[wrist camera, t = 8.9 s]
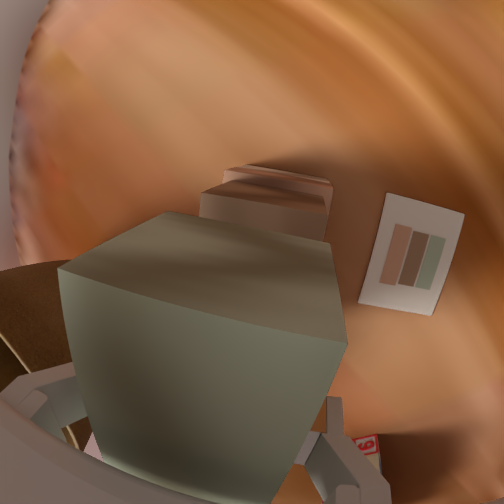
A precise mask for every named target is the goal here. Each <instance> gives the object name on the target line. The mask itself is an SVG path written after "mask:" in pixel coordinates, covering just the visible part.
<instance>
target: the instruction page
mask: <svg viewBox="0 0 504 504" xmlns="http://www.w3.org/2000/svg"><path fill="white" fill-rule="evenodd" d="M464 216H465V214H463V213H460V212H456V211H453V210H450V209H446V208H443V207H439V206H436V205H433V204H429V203H425V202H422V201H418V200H414V199H411V198H407V197H403V196H399V195H395V194H391V193H386V197H385V202H384V206H383V211H382V215H381V219H380V223H379V228H378V232H377V236H376V240H375V243H374V247H373V251H372V255H371V258H370V262H369V266H368V269H367V273H366V276H365V280H364V283H363V286H362V290H361V293H360V296H359V299H358V303H361V304H366V305H372V306H377V307H383V308H389V309H394V310H400V311H406V312H412V313H418V314H424V315H430V316H432V313H433V311H434V308H435V306H436V303H437V301H438V298H439V295H440V293H441V290H442V287H443V285H444V282H445V279H446V276H447V273H448V270H449V267H450V264H451V261H452V258H453V255H454V252H455V248H456V245H457V242H458V238H459V235H460V231H461V227H462V224H463V220H464Z"/></svg>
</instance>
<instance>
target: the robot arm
mask: <svg viewBox="0 0 504 504" xmlns="http://www.w3.org/2000/svg"><path fill="white" fill-rule="evenodd" d="M84 417H87V413H86V409H85V406H84V403H83V399H82V396H81V392H80V389H79V385H78V381H77V378H76V374H75V370H74V366H73V362H70V363H67V364H63V365H59V366H56V367H52V368H48V369H45V370H41V371H37V372H33V373H29V374H25V375H21V376H18V377H17V378H16V379H15V380H14V381H13V382H12V383H11V384H9V385H8V386H7V387H6V388H5V389H4V390H3V391H2V392H1V393H0V504H219V503H215V502H211V501H208V500H204V499H200V498H197V497H193V496H190V495H187V494H183V493H180V492H177V491H174V490H171V489H168V488H165V487H162V486H160V485H157V484H154V483H151V482H149V481H146V480H144V479H141V478H138V477H136V476H134V475H131V474H129V473H126V472H124V471H122V470H120V469H117V468H115V467H113V466H111V465H109V464H106V463H104V462H102V461H100V460H98V459H96V458H94V457H92V456H90V455H88V454H86V453H84V452H83V451H81V450H79V449H77V448H75V447H73V446H72V445H70V444H68V443H67V441H66V438H65V436H64V434H63V431H62V429H61V428H63V427H65V426H67V425H70V424H72V423H74V422H76V421H78V420H80V419H82V418H84ZM294 463H295V464H301V465H305V466H304V467H305V468H306V470H307V472H308V474H309V476H310V478H311V480H312V481H313V483H314V485H315V487H316V489H317V490H318V492H319V494H320V496H321V498H322V499H323V501H324V503H323V504H392V501H391V491H390V484H389V483H388V482H387V481H386V479H385V478H384V477H383V476H382V475H381V474H380V473H379V471H378V470H377V469H376V468H375V467H374V466H373V464H372V463H371V462H370V461H369V460H368V459H367V457H366V456H365V455H364V454H363V453H362V451H361V450H360V449H359V448H358V447H357V445H356V444H355V443H354V442H353V441H352V439H351V438H350V437H349V436H344V422H343V406H342V399H341V397H333V396H326V397H325V400H324V402H323V404H322V406H321V408H320V411H319V413H318V415H317V417H316V419H315V421H314V423H313V425H312V428H311V430H310V432H309V434H308V436H307V438H306V440H305V442H304V444H303V446H302V448H301V449H300V451H299V453H298V455H297V457H296V459H295V461H294ZM481 504H504V497H502V498H499V499H496V500H492V501H489V502H485V503H481Z"/></svg>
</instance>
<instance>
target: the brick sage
mask: <svg viewBox="0 0 504 504" xmlns="http://www.w3.org/2000/svg"><path fill="white" fill-rule="evenodd" d="M57 270H58V279H59V288H60V296H61V303H62V309H63V316H64V322H65V327H66V333H67V338H68V343H69V348H70V352H71V357H72V361H73V366H74V370H75V374H76V378H77V381H78V385H79V389H80V392H81V396H82V399H83V403H84V406H85V409H86V413H87V416H88V419H89V422H90V425H91V428H92V431H93V434H94V436H95V439H96V442H97V445H98V447H99V450H100V452H101V455H102V458H103V460H104V462H105V463H106V464H109V465H111V466H113V467H115V468H117V469H120V470H122V471H124V472H126V473H129V474H131V475H134V476H136V477H138V478H141V479H144V480H146V481H149V482H151V483H154V484H157V485H160V486H162V487H165V488H168V489H171V490H174V491H177V492H180V493H183V494H187V495H190V496H193V497H197V498H200V499H204V500H208V501H211V502H215V503H219V504H270V503H271V501H272V500H273V498H274V496H275V495H276V493H277V491H278V490H279V488H280V486H281V484H282V483H283V481H284V479H285V477H286V476H287V474H288V472H289V470H290V468H291V466H292V465H293V463H294V461H295V459H296V457H297V455H298V453H299V451H300V449H301V448H302V446H303V444H304V442H305V440H306V438H307V436H308V434H309V432H310V430H311V428H312V425H313V423H314V421H315V419H316V417H317V415H318V413H319V411H320V408H321V406H322V404H323V402H324V400H325V397H326V395H327V393H328V391H329V388H330V386H331V384H332V381H333V379H334V377H335V374H336V372H337V369H338V367H339V365H340V362H341V360H342V357H343V355H344V352H345V349H346V347H347V344H348V341H347V334H346V328H345V321H344V315H343V309H342V303H341V298H340V292H339V287H338V281H337V276H336V271H335V266H334V261H333V256H332V251H331V246H330V243H326V242H321V241H317V240H312V239H307V238H303V237H298V236H293V235H288V234H283V233H279V232H274V231H269V230H264V229H259V228H254V227H249V226H244V225H239V224H234V223H229V222H224V221H218V220H213V219H208V218H203V217H198V216H192V215H187V214H182V213H176V212H171V211H167V212H165V213H163V214H161V215H159V216H156V217H154V218H152V219H150V220H148V221H146V222H144V223H142V224H140V225H138V226H136V227H134V228H132V229H130V230H128V231H126V232H124V233H122V234H120V235H118V236H116V237H114V238H112V239H110V240H108V241H106V242H104V243H102V244H101V245H99V246H97V247H95V248H93V249H91V250H89V251H87V252H85V253H84V254H82V255H80V256H78V257H76V258H74V259H73V260H71V261H69V262H67V263H65V264H64V265H62V266H60V267H58V268H57Z"/></svg>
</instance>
